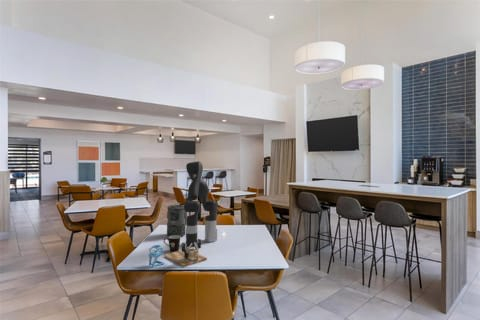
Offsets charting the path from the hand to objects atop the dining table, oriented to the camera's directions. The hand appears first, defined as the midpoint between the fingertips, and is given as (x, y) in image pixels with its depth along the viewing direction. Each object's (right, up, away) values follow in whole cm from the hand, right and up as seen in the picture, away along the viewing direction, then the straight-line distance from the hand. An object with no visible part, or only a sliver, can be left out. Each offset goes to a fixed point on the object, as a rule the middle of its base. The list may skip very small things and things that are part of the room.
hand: (191, 256), depth 177 cm
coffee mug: (-17, -3, +21) cm, 27 cm away
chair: (-21, -3, -7) cm, 23 cm away
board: (-5, -3, +5) cm, 8 cm away
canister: (-24, -3, +59) cm, 64 cm away
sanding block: (0, -2, 0) cm, 2 cm away
